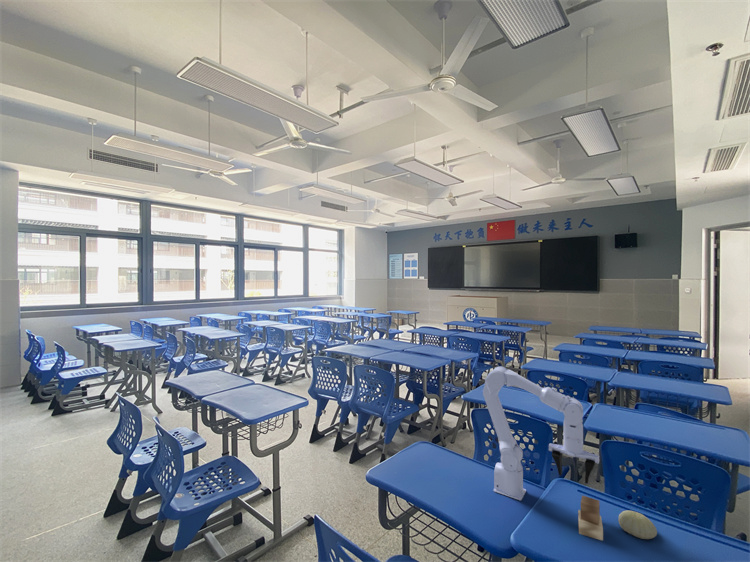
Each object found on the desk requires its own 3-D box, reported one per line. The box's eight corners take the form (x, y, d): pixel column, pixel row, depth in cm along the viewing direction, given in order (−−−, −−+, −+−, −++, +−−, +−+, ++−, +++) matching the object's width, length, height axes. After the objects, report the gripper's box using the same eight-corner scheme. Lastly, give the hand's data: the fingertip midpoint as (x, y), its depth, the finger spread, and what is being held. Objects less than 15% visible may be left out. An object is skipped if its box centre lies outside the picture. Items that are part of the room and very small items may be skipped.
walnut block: (580, 519, 104) (580, 502, 104) (582, 511, 107) (582, 495, 107) (598, 525, 101) (598, 507, 101) (599, 517, 104) (599, 500, 105)
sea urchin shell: (644, 539, 98) (624, 507, 103) (625, 546, 103) (607, 515, 109) (667, 534, 100) (647, 503, 106) (648, 540, 105) (629, 510, 111)
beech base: (579, 534, 103) (578, 520, 103) (578, 522, 108) (578, 509, 108) (603, 541, 100) (602, 527, 100) (601, 529, 105) (600, 516, 105)
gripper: (546, 434, 116) (546, 475, 116) (597, 446, 108) (598, 491, 107) (551, 428, 122) (551, 467, 121) (599, 439, 113) (599, 481, 113)
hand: (573, 478), depth 115 cm, fingers open, 7 cm apart
